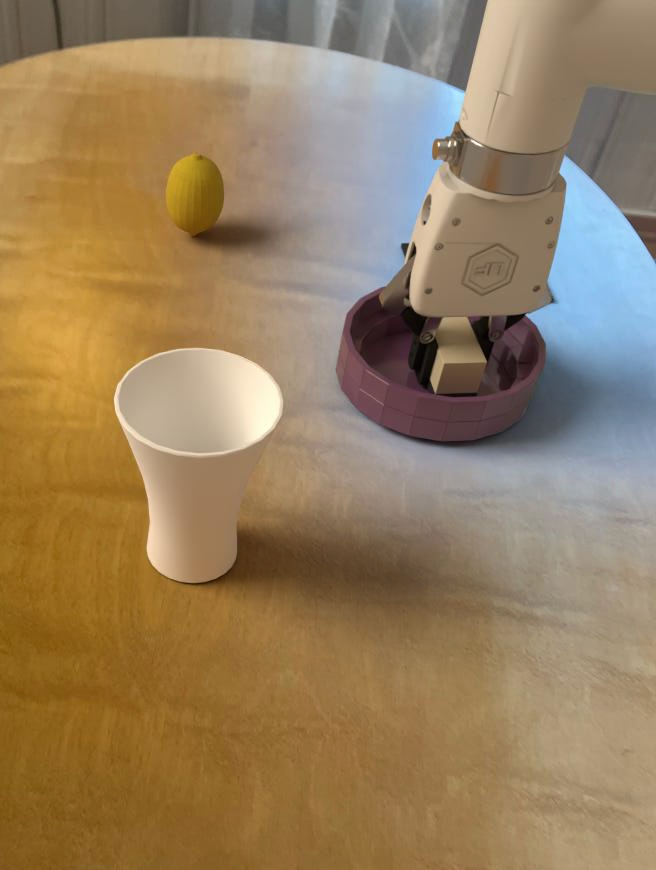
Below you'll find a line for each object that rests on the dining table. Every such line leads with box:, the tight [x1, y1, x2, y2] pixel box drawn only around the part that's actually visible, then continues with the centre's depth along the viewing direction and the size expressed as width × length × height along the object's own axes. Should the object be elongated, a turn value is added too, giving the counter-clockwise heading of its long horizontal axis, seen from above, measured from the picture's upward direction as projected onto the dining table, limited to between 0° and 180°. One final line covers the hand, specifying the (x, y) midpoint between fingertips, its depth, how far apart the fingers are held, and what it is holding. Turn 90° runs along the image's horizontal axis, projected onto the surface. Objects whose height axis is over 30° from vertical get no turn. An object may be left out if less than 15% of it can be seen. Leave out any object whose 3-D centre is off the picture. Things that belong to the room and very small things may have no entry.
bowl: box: [335, 285, 547, 442], centre depth 83 cm, size 16×16×4 cm
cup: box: [113, 347, 285, 584], centre depth 67 cm, size 10×10×14 cm
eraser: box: [426, 317, 487, 397], centre depth 83 cm, size 4×7×4 cm, turn 5°
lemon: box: [165, 151, 225, 237], centre depth 95 cm, size 6×6×8 cm
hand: (444, 371), depth 84 cm, fingers closed on eraser, 3 cm apart
